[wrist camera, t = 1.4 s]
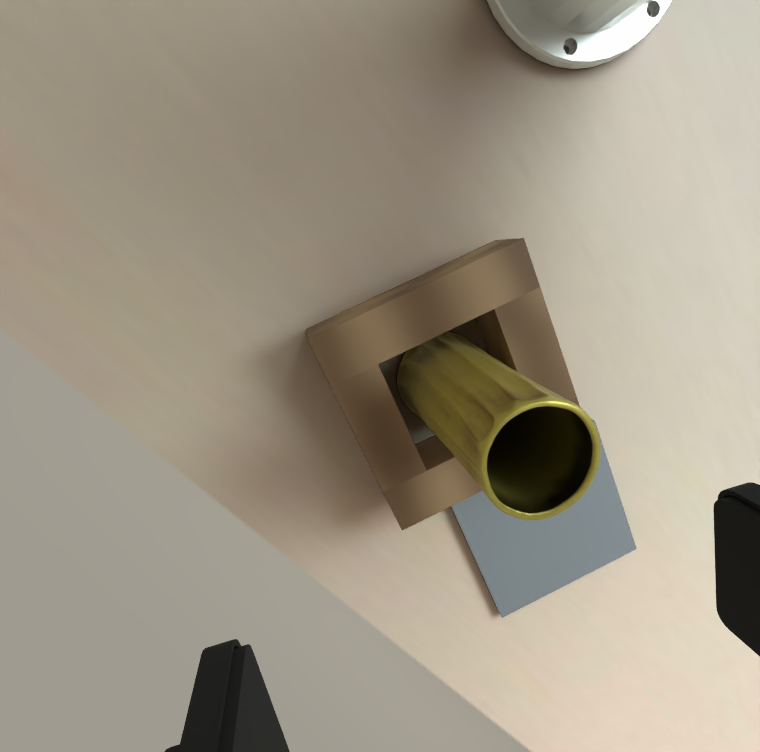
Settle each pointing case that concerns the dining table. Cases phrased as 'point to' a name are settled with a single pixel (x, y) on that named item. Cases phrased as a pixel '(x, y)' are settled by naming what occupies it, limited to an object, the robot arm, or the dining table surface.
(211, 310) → the dining table surface
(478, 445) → the vase
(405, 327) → the collar
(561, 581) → the mat
